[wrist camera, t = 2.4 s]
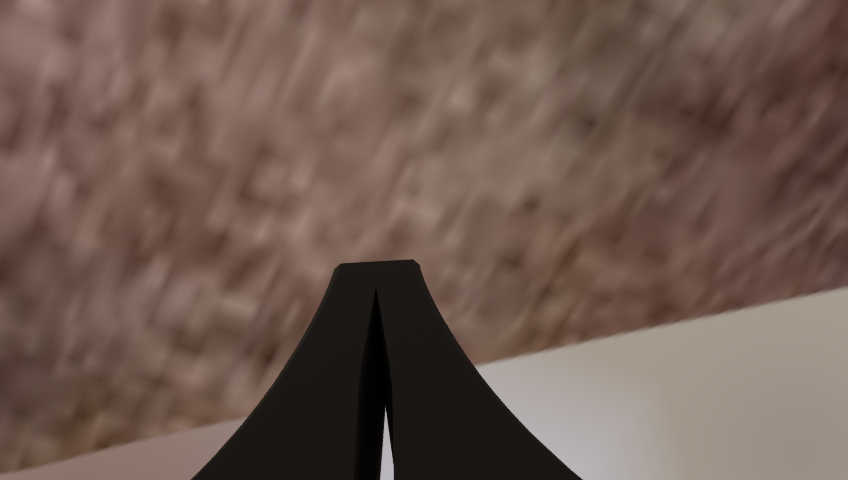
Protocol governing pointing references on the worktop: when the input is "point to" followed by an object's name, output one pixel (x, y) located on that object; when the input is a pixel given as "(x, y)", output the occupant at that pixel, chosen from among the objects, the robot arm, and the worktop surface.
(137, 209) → the worktop surface
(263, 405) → the robot arm
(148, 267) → the worktop surface
